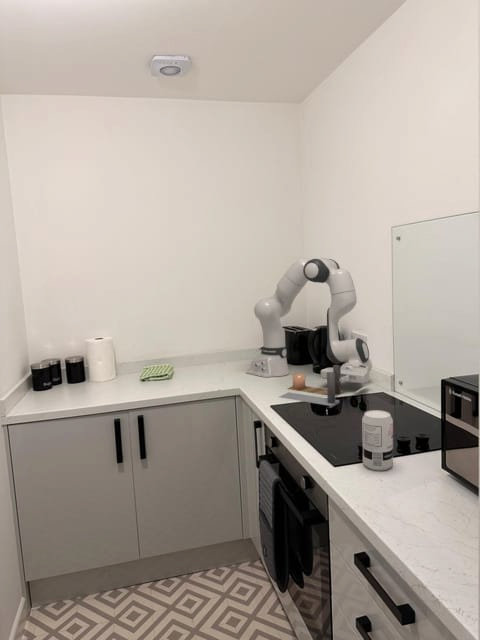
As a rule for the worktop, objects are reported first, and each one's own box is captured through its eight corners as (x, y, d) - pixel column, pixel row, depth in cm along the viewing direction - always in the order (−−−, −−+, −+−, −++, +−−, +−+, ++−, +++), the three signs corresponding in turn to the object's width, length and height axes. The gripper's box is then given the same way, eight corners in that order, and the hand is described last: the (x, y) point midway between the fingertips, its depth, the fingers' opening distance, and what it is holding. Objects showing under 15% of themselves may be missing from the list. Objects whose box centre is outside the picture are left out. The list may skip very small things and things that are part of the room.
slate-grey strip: (278, 399, 205) (277, 368, 203) (288, 394, 211) (287, 365, 209) (330, 408, 190) (329, 375, 188) (339, 402, 196) (338, 371, 195)
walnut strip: (286, 391, 216) (285, 362, 214) (296, 386, 222) (295, 358, 221) (336, 398, 202) (335, 368, 200) (344, 394, 208) (344, 364, 206)
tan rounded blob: (290, 388, 216) (290, 375, 215) (297, 385, 221) (296, 372, 220) (301, 390, 213) (301, 376, 212) (307, 387, 217) (307, 374, 216)
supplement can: (358, 460, 142) (358, 410, 140) (386, 458, 143) (386, 408, 141) (368, 472, 134) (367, 419, 132) (397, 470, 135) (397, 417, 133)
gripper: (328, 362, 221) (313, 369, 210) (372, 367, 208) (358, 374, 197) (329, 376, 221) (314, 383, 211) (372, 382, 209) (358, 389, 198)
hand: (335, 379), depth 204 cm, fingers closed on walnut strip, 3 cm apart
